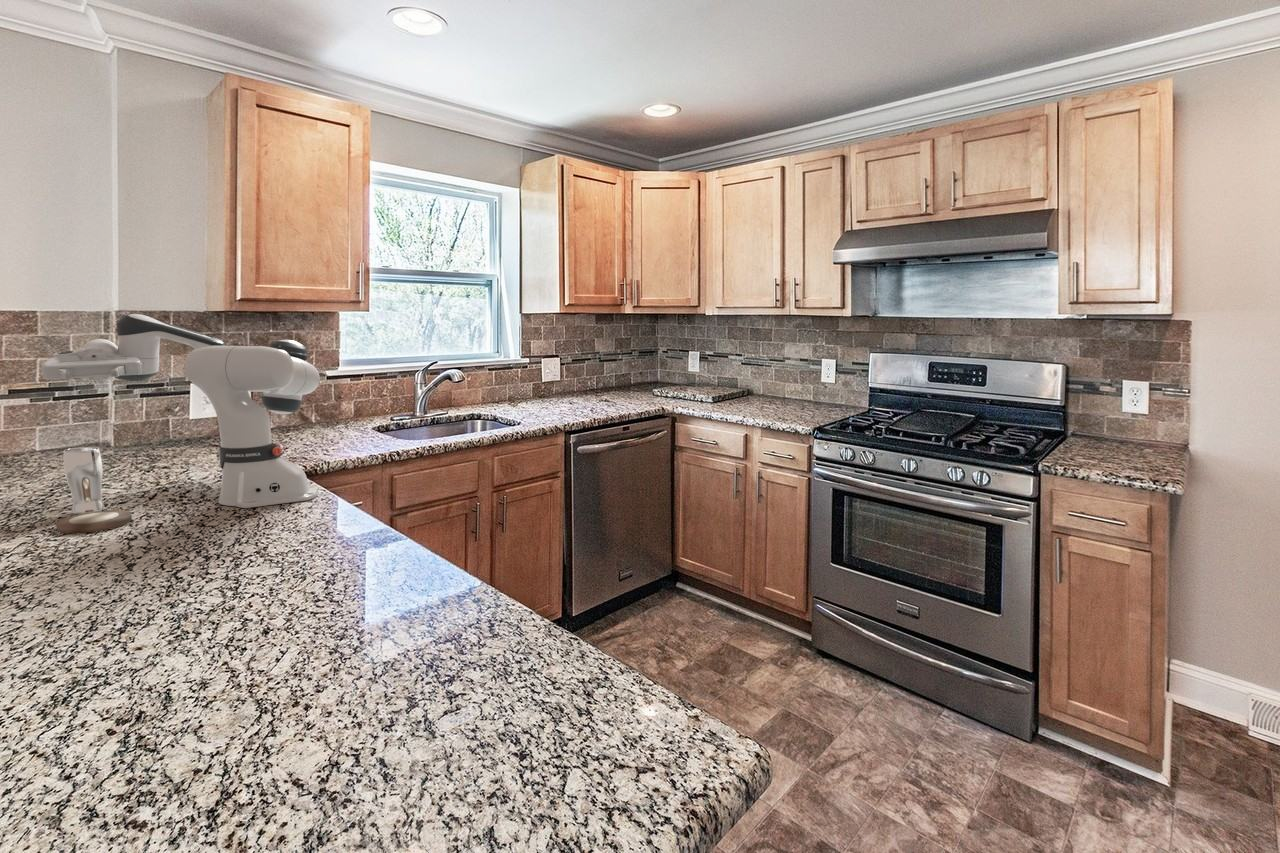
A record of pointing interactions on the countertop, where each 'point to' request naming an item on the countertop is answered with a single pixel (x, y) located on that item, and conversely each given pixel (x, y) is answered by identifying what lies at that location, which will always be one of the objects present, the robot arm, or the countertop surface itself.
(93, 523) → the walnut board
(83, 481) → the beer glass
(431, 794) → the countertop surface
